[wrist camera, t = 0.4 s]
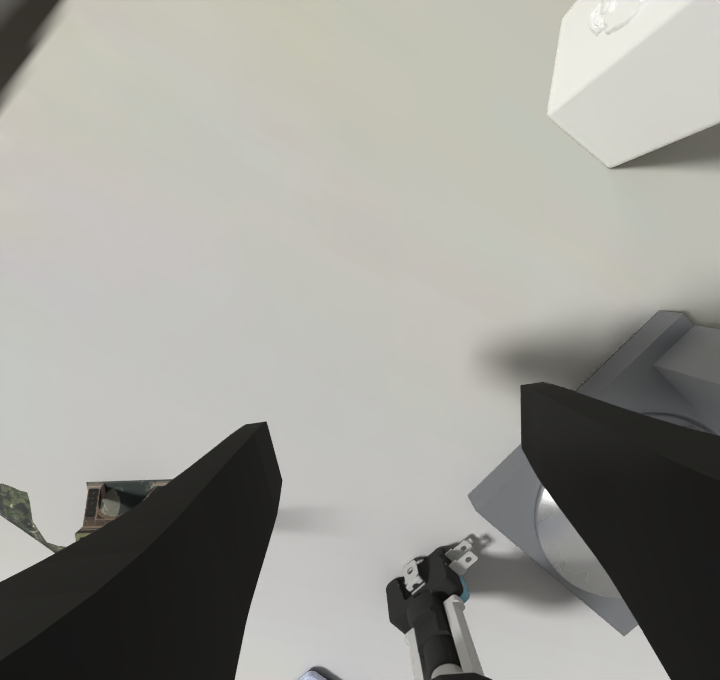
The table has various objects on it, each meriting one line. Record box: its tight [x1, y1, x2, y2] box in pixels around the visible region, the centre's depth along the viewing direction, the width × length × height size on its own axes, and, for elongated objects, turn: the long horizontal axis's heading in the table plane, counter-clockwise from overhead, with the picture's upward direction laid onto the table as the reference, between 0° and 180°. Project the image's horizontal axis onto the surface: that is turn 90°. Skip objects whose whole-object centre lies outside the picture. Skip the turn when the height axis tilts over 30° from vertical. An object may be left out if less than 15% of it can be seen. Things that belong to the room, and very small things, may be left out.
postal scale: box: [468, 311, 720, 636], centre depth 19 cm, size 16×14×6 cm
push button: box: [386, 540, 492, 680], centre depth 18 cm, size 7×5×10 cm
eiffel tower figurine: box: [0, 479, 173, 553], centre depth 16 cm, size 15×10×13 cm
